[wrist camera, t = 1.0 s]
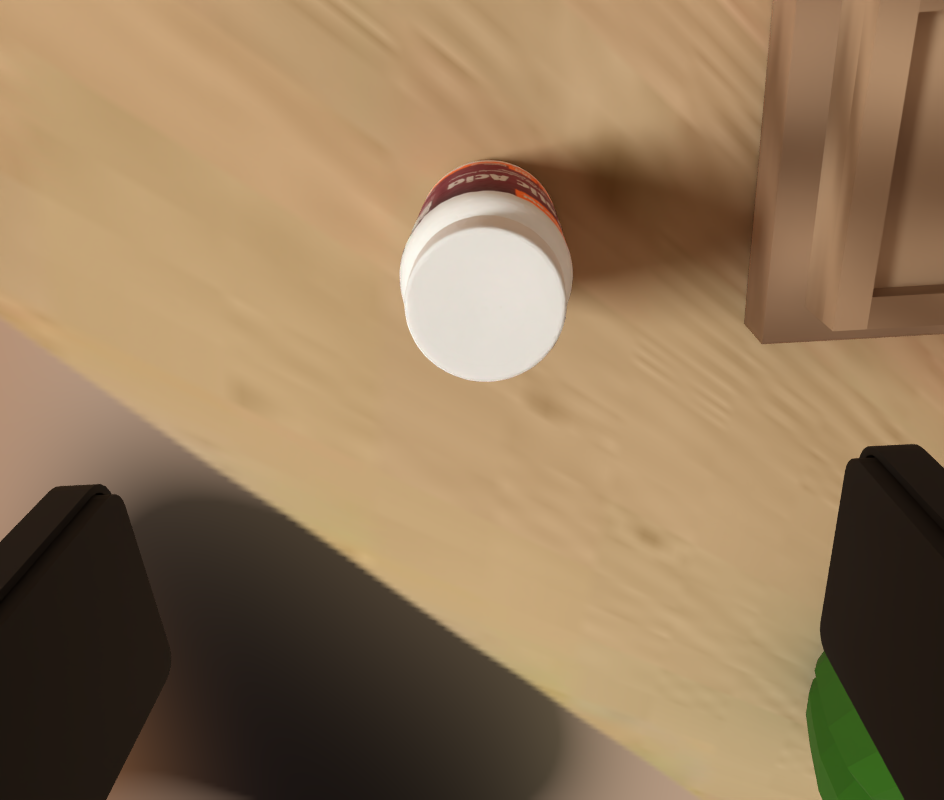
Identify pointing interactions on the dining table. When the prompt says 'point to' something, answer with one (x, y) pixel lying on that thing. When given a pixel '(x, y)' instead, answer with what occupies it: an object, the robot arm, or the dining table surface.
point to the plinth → (850, 173)
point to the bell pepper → (843, 744)
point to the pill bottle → (486, 273)
